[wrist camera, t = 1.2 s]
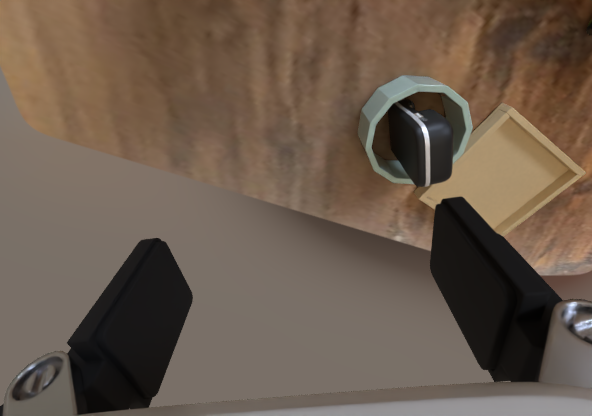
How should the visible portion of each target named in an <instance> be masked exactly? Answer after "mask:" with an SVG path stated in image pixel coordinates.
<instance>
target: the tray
mask: <svg viewBox="0 0 592 416" xmlns="http://www.w3.org/2000/svg"><path fill="white" fill-rule="evenodd" d="M585 173H586V172H585V171H584V170H583V169H581V168H580V167H579V166H578V165H577V164H576V163H575V162H574V161H572V160H571V159H570V158H569V157H568V156H567V155H566V154H565V153H563V152H562V151H561V150H560V149H559V148H558V147H557V146H555V145H554V144H553V143H552V142H551V141H550V140H549V139H548V138H546V137H545V136H544V135H543V134H542V133H541V132H540V131H538V130H537V129H536V128H535V127H534V126H533V125H532V124H531V123H529V122H528V121H527V120H526V119H525V118H524V117H523V116H521V115H520V114H519V113H518V112H517V111H516V110H515V109H514V108H512V107H510V106H508V105H506V104H504V103H501V104H500V105H499V106H498V107H497V108H496V109H495V110H494V111H493V112H492V113H491V114H490V115H489V116H488V117H487V118H486V119H485V120H484V121H483V122H482V123H481V124H480V125H479V126H478V127H477V128H476V129H475V130H474V131H473V132H472V133H471V134H470V137H469V140H468V142H467V145H466V148H465V150H464V153H463V155H462V156H461V157H460V158H459V159H458V160H457V161H456V162H455V163H454V164H453V168H452V175H451V177H450V178H449V179H448V180H447V181H445V182H442V183H437V184H432V185H429V186H427V187H418V188H417V189H416V190H415V191H414V193H415V195H416V196H417V198H418V199H419V200H421V201H422V202H424V203H425V204H427V205H428V206H430V207H431V208H433V209H434V210H435V207H436V205H437V204H441V201H442V199H445V198H452V197H460V196H461V197H463V198H465V199H466V201H467V202H468V203H469V204H470V205H471V206H472V207H473V208H474V209H475V210H476V211H477V212H478V214H479V215H480V216H481V217H482V218H483V219H484V220H485V221H486V222H487V223H488V224H489V225H490V227H491V228H492V229H493V230H494V231H495V232H496V233H498V234H500V235H501V236H505V235H506V234H507V233H509V232H510V231H511V230H513V229H514V228H515V227H516V226H518V225H519V224H520V223H522V222H523V221H524V220H526V219H527V218H528V217H530V216H531V215H532V214H533V213H535V212H536V211H537V210H539V209H540V208H541V207H543V206H544V205H545V204H547V203H548V202H549V201H550V200H552V199H553V198H554V197H556V196H557V195H558V194H560V193H561V192H562V191H564V190H565V189H566V188H567V187H569V186H570V185H571V184H573V183H574V182H575V181H577V180H578V179H579V178H580V177H582V176H583V175H584V174H585Z"/></svg>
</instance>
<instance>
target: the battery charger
mask: <svg viewBox="0 0 592 416" xmlns="http://www.w3.org/2000/svg"><path fill="white" fill-rule="evenodd" d="M388 118H389V129H390V140H391V150H392V152H393V153H394V155H395V156H396V157H397V159H398V161H399V162H400V164H401V165H402V167H403V169H404V170H405V172H406V173H407V175H408V176H409V177H410V179H411V180H412V182H413V183H414V184H415V185H416V186H417V187H427V186H429V185H432V184H437V183H442V182H445V181H447V180H448V179H449V178H450V177H451V175H452V168H453V128H452V126H451V124H450V123H449V122H448V121H447V120H446V119H445V118H444V117H443V116H442V115H440V114H439V113H437V112H436V111H434V110H431V109H429V110H423V111H419V112H418V111H416V110H415V106H414V103H413V102H412V101H410V100H399V101H397V102H395V103H393V104H392V105H391V107H390V108H389V109H388Z"/></svg>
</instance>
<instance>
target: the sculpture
mask: <svg viewBox="0 0 592 416" xmlns="http://www.w3.org/2000/svg"><path fill="white" fill-rule="evenodd" d="M587 34H589V35H592V19H591V21H590V22H589V24H588V27H587Z"/></svg>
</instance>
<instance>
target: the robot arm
mask: <svg viewBox="0 0 592 416" xmlns="http://www.w3.org/2000/svg"><path fill="white" fill-rule="evenodd" d="M430 269H431V273H432V275H433V277H434V279H435V281H436V283H437V285H438V287H439V289H440V291H441V293H442V294H443V297H444V299H445V300H446V302H447V304H448V306H449V308H450V310H451V312H452V314H453V316H454V318H455V320H456V321H457V323H458V325H459V327H460V329H461V331H462V333H463V335H464V337H465V339H466V340H467V343H468V345H469V346H470V348H471V350H472V352H473V354H474V356H475V358H476V360H477V362H478V364H479V365H480V367H481V368H482V369H483V370H488V371H489V373H490V375H491V376H492V378H493V380H494V382H489V383H470V384H452V385H434V386H419V387H406V388H392V389H379V390H366V391H353V392H352V391H351V392H337V393H325V394H311V395H298V396H287V397H286V396H285V397H273V398H260V399H247V400H235V401H222V402H211V403H198V404H186V405H175V406H163V407H151V408H149V405H150V402H151V400H152V397H154V396H156V394H157V393H158V391H159V388H160V386H161V383H162V380H163V378H164V375H165V373H166V370H167V367H168V365H169V362H170V359H171V357H172V354H173V351H174V349H175V346H176V343H177V341H178V338H179V335H180V333H181V330H182V328H183V325H184V322H185V320H186V317H187V314H188V312H189V309H190V306H191V304H192V299H193V297H192V292H191V290H190V288H189V286H188V284H187V282H186V280H185V278H184V276H183V274H182V272H181V270H180V269H179V267H178V265H177V263H176V261H175V259H174V257H173V255H172V253H171V251H170V249H169V247H168V245H167V244H166V242H164V241H161V239H159V238H153V239H145V240H141V241H140V242H139V243H138V244H137V246H136V247H135V249H134V250H133V251H132V253H131V254H130V255H129V257H128V258H127V260H126V261H125V262H124V264H123V265H122V267H121V268H120V269H119V271H118V272H117V274H116V275H115V276H114V278H113V279H112V281H111V282H110V283H109V285H108V286H107V287H106V289H105V290H104V292H103V293H102V295H101V296H100V297H99V299H98V300H97V301H96V303H95V304H94V306H93V307H92V308H91V310H90V311H89V313H88V314H87V315H86V317H85V318H84V320H83V321H82V322H81V324H80V325H79V327H78V328H77V329H76V331H75V332H74V334H73V335H72V336H71V338H70V339H69V341H68V342H67V343H68V345H69V346H70V347H71V349H70V351H69V352H68V353H65V352H63V351H54V352H51V353H48V354H45V355H43V356H41V357H39V358H37V359H36V360H35V361H33V362H32V363H30V364H29V365H27V366H26V367H25V368H24V369H23V370H22V371H21V372H20V373H19V374H18V375H17V376H16V377H15V378H14V379H13V381H12V382H11V383H10V385H9V387H8V389H7V391H6V393H5V397H4V404H3V405H2V406H0V416H592V302H591V301H587V300H581V299H570V300H562V299H561V298H560V297H559V296H558V295H557V294H556V293H555V291H554V290H553V289H552V288H551V287H550V286H549V285H548V284H547V283H546V282H545V281H544V280H543V279H542V278H541V277H540V275H539V274H538V273H537V272H536V271H535V270H534V269H533V268H532V267H531V266H530V265H529V264H528V263H527V262H526V261H525V260H524V258H523V257H522V256H521V255H520V254H519V253H518V252H517V251H516V250H515V249H514V248H513V247H512V246H511V245H510V244H509V242H508V241H507V240H506V239H505V238H504V237H503V236H501V235H500V234H498V233H496V232H495V231H494V230H493V229H492V228H491V227H490V225H489V224H488V223H487V222H486V221H485V220H484V219H483V218H482V217H481V216H480V215H479V214H478V212H477V211H476V210H475V209H474V208H473V207H472V206H471V205H470V204H469V203H468V202H467V201H466V199H465V198H463V197H461V196H460V197H452V198H445V199H442V201H441V204H437V205H436V207H435V216H434V227H433V238H432V249H431V260H430ZM500 381H511V382H500ZM129 408H130V409H129Z"/></svg>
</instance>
